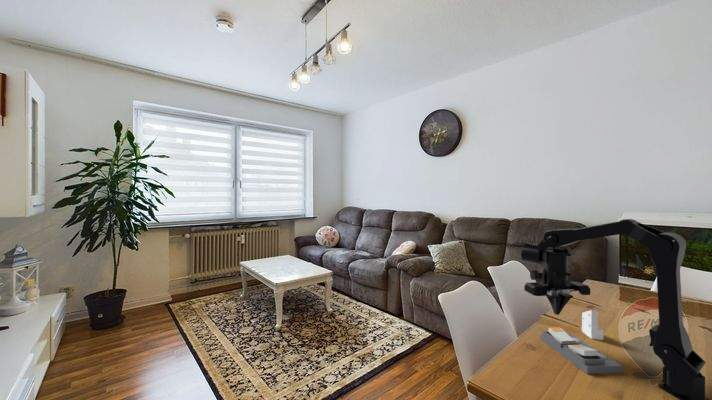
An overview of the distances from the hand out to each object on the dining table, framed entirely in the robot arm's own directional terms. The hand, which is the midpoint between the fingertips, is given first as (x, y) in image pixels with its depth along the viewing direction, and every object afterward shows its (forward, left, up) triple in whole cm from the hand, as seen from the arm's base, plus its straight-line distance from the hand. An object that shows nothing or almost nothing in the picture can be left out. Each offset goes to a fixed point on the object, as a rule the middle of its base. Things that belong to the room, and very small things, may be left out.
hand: (556, 314), depth 96 cm
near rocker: (-11, 0, -7) cm, 13 cm away
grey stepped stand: (-6, -2, -10) cm, 12 cm away
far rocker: (-2, 0, -7) cm, 7 cm away
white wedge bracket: (+5, -17, -10) cm, 20 cm away
